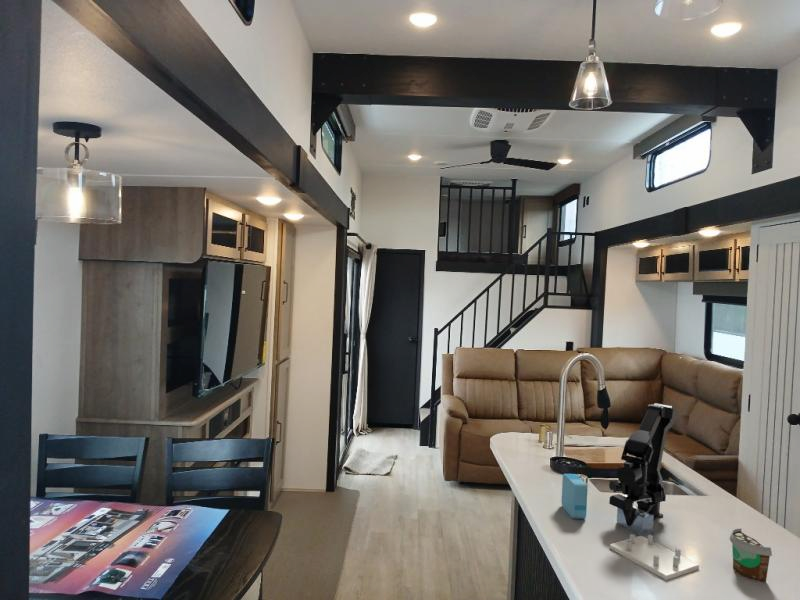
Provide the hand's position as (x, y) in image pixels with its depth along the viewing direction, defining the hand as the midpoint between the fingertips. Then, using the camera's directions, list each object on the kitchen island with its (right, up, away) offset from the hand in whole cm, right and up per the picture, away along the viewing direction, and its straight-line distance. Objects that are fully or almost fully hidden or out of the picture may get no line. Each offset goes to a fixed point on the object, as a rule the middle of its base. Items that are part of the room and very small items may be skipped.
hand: (634, 524), depth 178 cm
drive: (0, -1, 0) cm, 1 cm away
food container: (+19, -3, -26) cm, 32 cm away
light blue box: (-17, -1, +10) cm, 20 cm away
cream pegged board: (-3, -2, -20) cm, 20 cm away
